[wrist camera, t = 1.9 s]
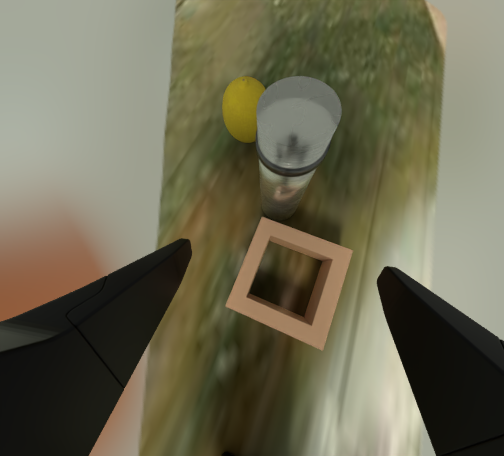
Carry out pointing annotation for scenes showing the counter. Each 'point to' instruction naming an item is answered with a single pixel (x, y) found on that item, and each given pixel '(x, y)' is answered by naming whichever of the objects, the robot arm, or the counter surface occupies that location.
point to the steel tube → (292, 139)
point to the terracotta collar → (323, 294)
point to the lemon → (242, 108)
